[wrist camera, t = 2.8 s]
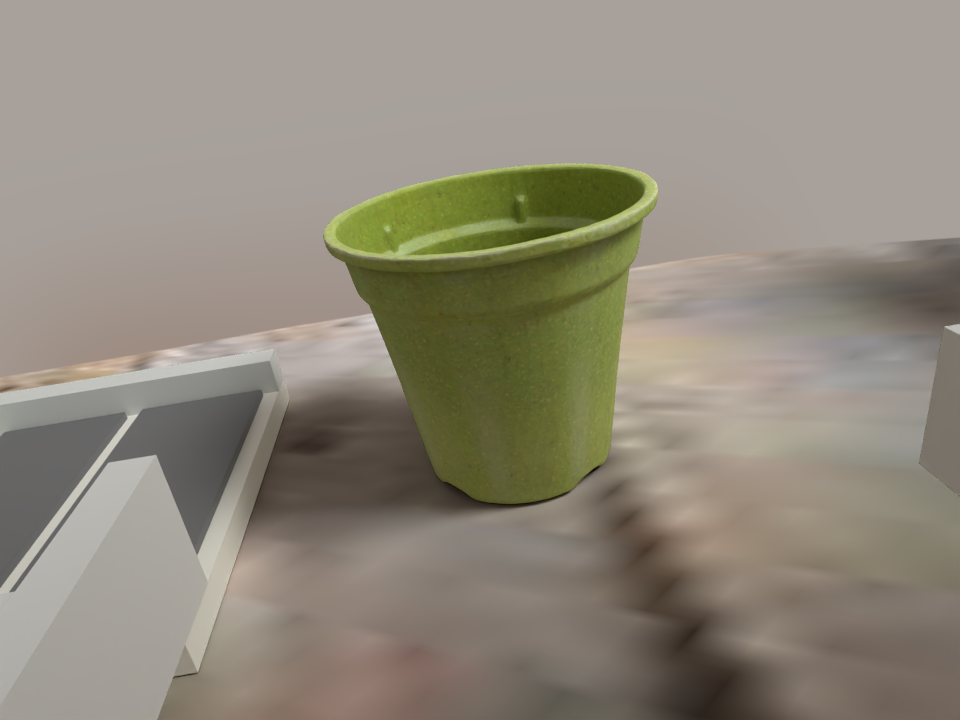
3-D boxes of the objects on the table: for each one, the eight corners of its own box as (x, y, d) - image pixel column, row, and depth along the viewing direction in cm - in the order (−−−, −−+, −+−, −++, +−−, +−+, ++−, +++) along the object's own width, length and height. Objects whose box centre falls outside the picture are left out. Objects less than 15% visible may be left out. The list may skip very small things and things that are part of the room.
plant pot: (703, 524, 19) (706, 215, 15) (368, 567, 19) (287, 275, 15) (627, 371, 27) (616, 150, 23) (396, 403, 27) (349, 190, 24)
